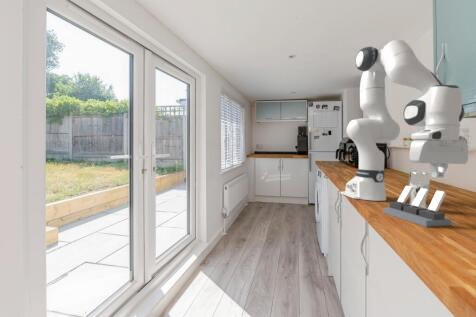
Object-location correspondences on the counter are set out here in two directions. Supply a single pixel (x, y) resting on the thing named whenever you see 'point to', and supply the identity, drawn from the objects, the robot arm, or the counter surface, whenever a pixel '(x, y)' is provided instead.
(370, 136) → the robot arm
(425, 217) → the panel
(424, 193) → the breaker
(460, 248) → the counter surface
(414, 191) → the beer glass
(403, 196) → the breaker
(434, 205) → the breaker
